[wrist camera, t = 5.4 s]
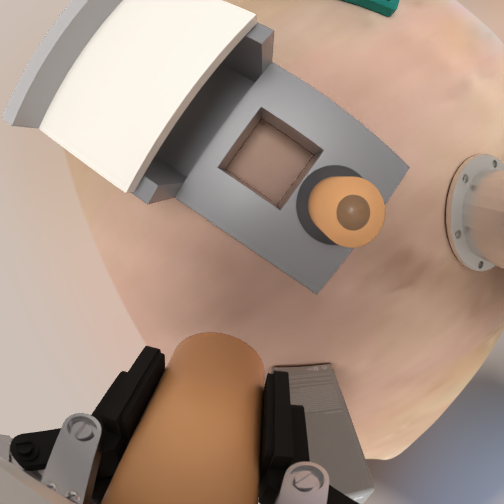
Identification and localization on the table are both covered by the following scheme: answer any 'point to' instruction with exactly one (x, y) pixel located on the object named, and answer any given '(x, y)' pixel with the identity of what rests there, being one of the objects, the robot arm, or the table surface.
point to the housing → (305, 186)
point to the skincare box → (330, 429)
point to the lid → (123, 77)
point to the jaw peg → (198, 429)
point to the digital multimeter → (377, 5)
